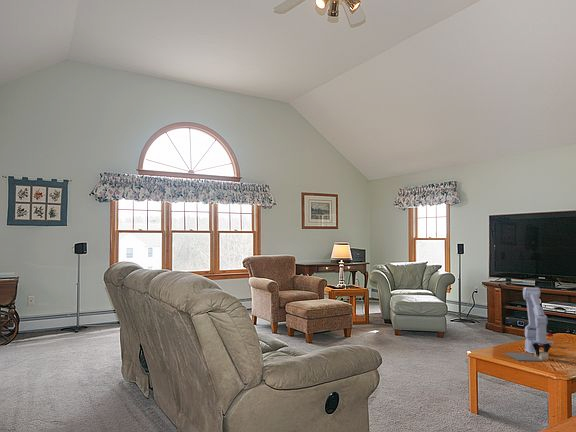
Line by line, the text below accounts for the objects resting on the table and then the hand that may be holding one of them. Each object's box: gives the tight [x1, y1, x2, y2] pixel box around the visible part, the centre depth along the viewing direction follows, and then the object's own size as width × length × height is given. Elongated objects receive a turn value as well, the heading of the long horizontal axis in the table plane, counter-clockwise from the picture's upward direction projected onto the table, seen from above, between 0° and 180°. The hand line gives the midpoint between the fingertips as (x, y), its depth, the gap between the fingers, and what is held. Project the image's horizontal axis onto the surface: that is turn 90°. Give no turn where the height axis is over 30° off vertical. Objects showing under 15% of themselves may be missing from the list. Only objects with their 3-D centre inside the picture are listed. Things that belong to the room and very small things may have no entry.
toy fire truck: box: [539, 331, 554, 347], centre depth 329 cm, size 3×14×10 cm, turn 101°
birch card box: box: [534, 349, 549, 361], centre depth 294 cm, size 8×4×4 cm, turn 0°
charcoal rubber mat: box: [504, 352, 544, 362], centre depth 294 cm, size 18×16×1 cm
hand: (541, 355), depth 294 cm, fingers closed on birch card box, 4 cm apart
